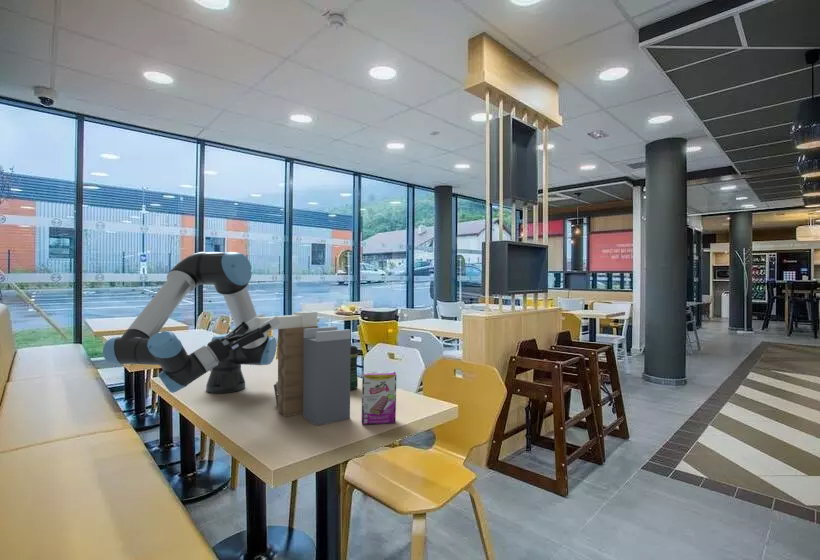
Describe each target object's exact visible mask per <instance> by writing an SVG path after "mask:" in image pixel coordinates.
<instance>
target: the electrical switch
mask: <svg viewBox="0 0 820 560" xmlns="http://www.w3.org/2000/svg"><path fill="white" fill-rule="evenodd" d="M273 388H274V395H275V401H276V406H278V381H276V383H274V384H273Z"/></svg>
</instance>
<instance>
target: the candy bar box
mask: <svg viewBox="0 0 820 560" xmlns="http://www.w3.org/2000/svg"><path fill="white" fill-rule="evenodd" d="M361 373H362V374H361V376H362V379H361V415H360V416H361V425H364V426H365V425H387V424H388V425H389V424H396V417H397V416H396V415H397V413H396V411H397V408H396V407H397V373H396V371H393V370H389V371H385V370H384V371H362V372H361Z"/></svg>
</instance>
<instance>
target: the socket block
mask: <svg viewBox="0 0 820 560" xmlns="http://www.w3.org/2000/svg"><path fill="white" fill-rule="evenodd" d="M351 331H352V330H351V329H349V328H346V329H338V326H324V327H318V328H307V329H304V353H303V413H302V417H303V416H304V417H305V418H304V417H303V418H304V419H306V420H307V419H308V421H309V422H310V421H311V423H312V424H313V423H314V424H313V425H315V426H316V425H318V426H321V425H322V424H323V425H326V423H328V424H331V422H332V423H336V421H337V422H340V421H341V422H342V421H346V420H349V419H351V390H350V347H351V346H352V345H351V337H352V336H351V335H352V334H351ZM345 419H346V420H345Z"/></svg>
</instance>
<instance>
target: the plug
mask: <svg viewBox="0 0 820 560" xmlns="http://www.w3.org/2000/svg"><path fill="white" fill-rule="evenodd" d="M275 316H277V318H278V319H279V321H280V324H278V325H277V326H275V327H273V328H272V329H270V330H269V331H272V330H273V331H274V330H278V329H285V328H297V327H312V326H318V323H319V322H320V319H319V318H318V312H317V311H312V310H311V311H310V310H305V311H293V314H289V315H288V314H287V315H275ZM275 316H274V315H273V316H271V315H270V316H265V317H256V318H255V329H257V328H259V326H260V325H262V324H264V323H265V322H267V321H268V320H270V319H271V318H273V317H275Z"/></svg>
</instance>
